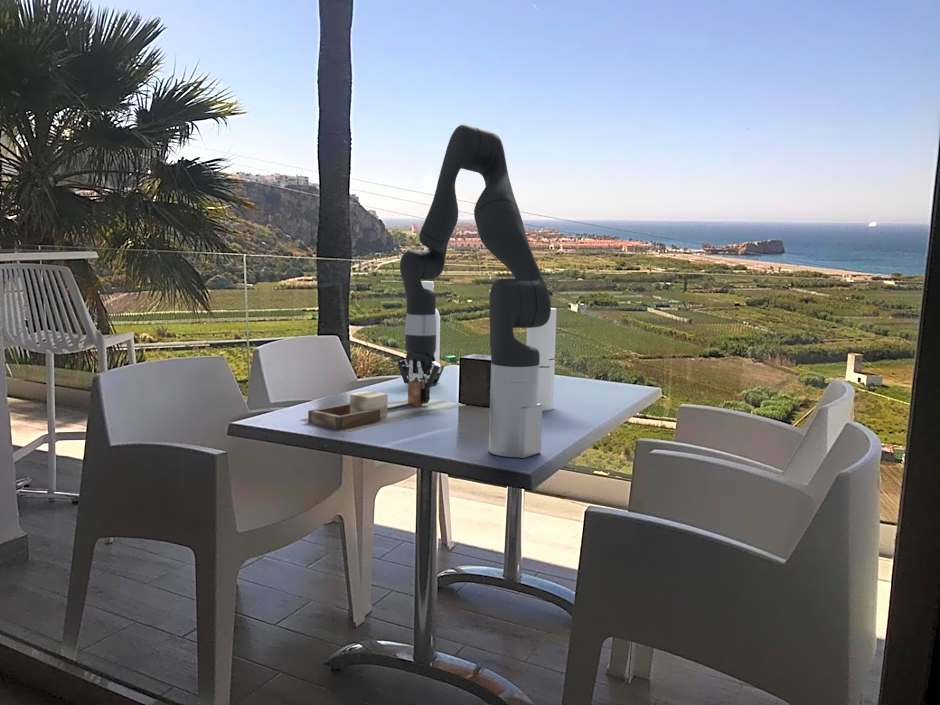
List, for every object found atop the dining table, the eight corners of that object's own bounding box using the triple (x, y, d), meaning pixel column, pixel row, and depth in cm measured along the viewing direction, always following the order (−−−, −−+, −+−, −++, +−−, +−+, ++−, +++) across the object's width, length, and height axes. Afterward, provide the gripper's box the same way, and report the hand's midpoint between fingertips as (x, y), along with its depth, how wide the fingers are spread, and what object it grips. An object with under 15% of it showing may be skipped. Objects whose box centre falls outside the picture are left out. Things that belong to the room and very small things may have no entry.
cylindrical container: (558, 408, 187) (562, 308, 184) (540, 411, 182) (543, 309, 179) (537, 403, 192) (540, 307, 189) (518, 407, 187) (521, 307, 184)
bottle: (416, 380, 226) (417, 280, 222) (441, 381, 224) (443, 281, 221) (409, 384, 218) (410, 281, 214) (436, 385, 217) (437, 282, 213)
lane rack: (466, 407, 185) (466, 394, 185) (349, 435, 155) (349, 419, 154) (418, 399, 195) (418, 387, 195) (299, 423, 165) (299, 408, 164)
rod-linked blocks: (427, 406, 182) (428, 382, 181) (368, 419, 166) (368, 393, 165) (409, 403, 185) (409, 379, 185) (349, 415, 170) (349, 389, 169)
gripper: (452, 333, 180) (451, 404, 182) (410, 329, 189) (409, 396, 191) (432, 336, 174) (431, 408, 177) (389, 331, 183) (388, 400, 185)
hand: (419, 402), depth 184 cm, fingers closed on rod-linked blocks, 2 cm apart
